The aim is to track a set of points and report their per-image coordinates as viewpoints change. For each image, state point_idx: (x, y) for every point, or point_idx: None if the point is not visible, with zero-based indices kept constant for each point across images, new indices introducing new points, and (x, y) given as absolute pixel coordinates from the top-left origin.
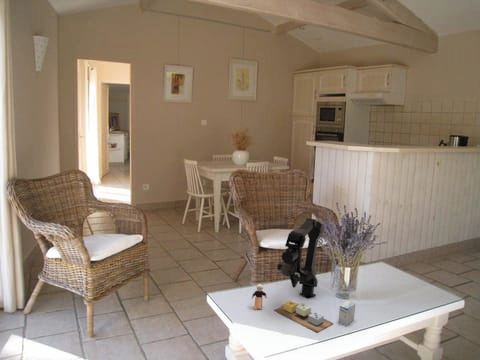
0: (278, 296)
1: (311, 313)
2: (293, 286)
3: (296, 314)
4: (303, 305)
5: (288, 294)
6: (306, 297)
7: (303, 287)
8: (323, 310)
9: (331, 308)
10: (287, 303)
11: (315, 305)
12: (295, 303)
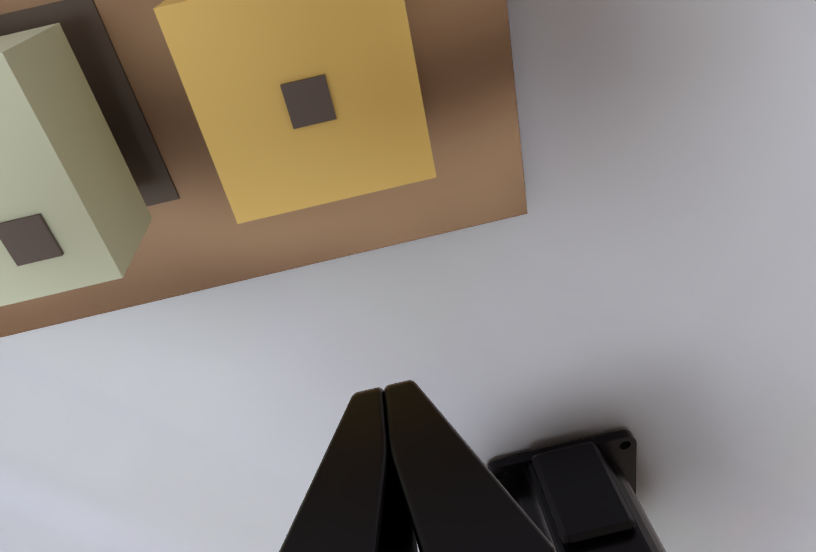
0: (789, 186)
1: (97, 299)
2: (370, 414)
3: (132, 64)
4: (3, 237)
5: (725, 332)
6: (519, 459)
7: (621, 544)
8: (169, 462)
9: (185, 543)
10: (357, 36)
11: (319, 449)
12: (287, 192)
